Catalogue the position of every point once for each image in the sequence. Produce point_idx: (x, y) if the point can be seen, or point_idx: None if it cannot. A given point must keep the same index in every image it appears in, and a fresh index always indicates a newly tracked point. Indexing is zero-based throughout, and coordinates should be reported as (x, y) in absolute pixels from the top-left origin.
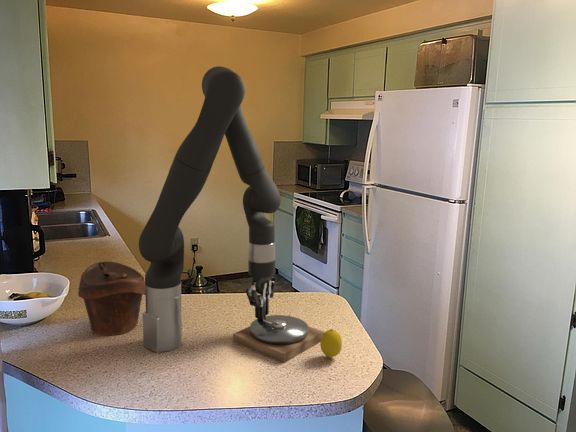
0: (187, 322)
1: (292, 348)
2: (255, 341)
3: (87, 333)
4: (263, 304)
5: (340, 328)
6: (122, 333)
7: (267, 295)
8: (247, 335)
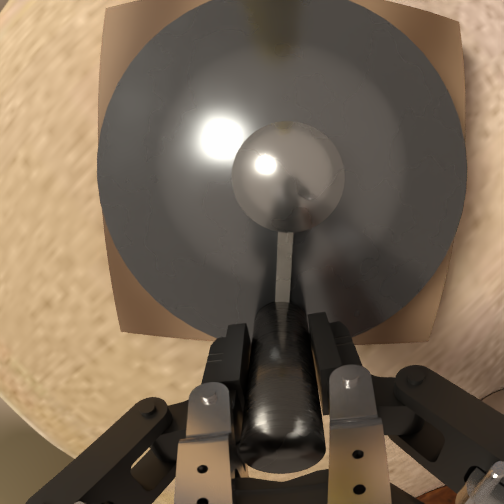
0: None
1: (395, 7)
2: None
3: None
4: (301, 383)
5: (8, 68)
6: None
7: (232, 438)
8: None
